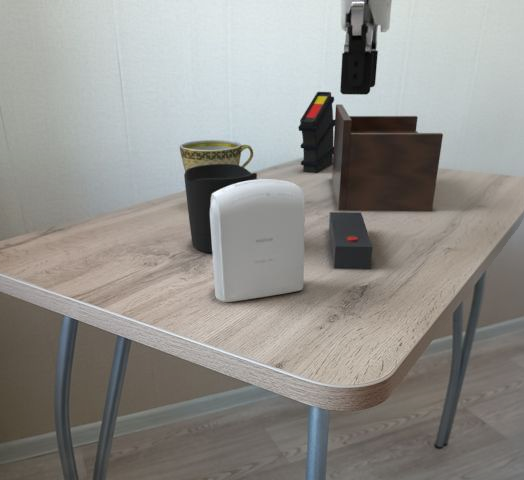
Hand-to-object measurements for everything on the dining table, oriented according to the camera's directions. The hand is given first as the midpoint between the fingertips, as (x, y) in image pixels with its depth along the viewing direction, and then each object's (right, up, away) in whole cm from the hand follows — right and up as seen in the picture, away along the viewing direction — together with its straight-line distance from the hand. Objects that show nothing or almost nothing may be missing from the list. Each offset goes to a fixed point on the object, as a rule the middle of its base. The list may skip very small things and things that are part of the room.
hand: (358, 90), depth 65 cm
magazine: (0, +9, +55) cm, 56 cm away
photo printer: (-12, -24, -2) cm, 27 cm away
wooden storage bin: (+10, -2, +35) cm, 37 cm away
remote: (0, -17, +10) cm, 20 cm away
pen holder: (-17, -16, +12) cm, 26 cm away
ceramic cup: (-18, -6, +30) cm, 36 cm away
